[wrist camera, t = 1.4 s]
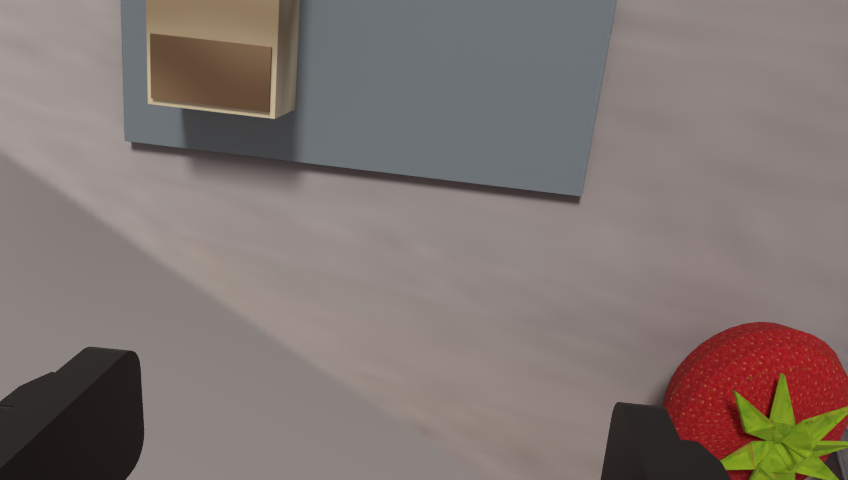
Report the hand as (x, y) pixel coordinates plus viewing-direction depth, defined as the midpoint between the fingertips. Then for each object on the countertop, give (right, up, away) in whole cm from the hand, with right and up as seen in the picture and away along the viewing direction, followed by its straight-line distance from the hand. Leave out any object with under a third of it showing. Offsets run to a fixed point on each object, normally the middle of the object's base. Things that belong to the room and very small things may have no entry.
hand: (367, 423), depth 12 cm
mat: (-2, +12, +17) cm, 21 cm away
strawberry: (+14, -2, +20) cm, 25 cm away
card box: (-7, +13, +17) cm, 22 cm away
